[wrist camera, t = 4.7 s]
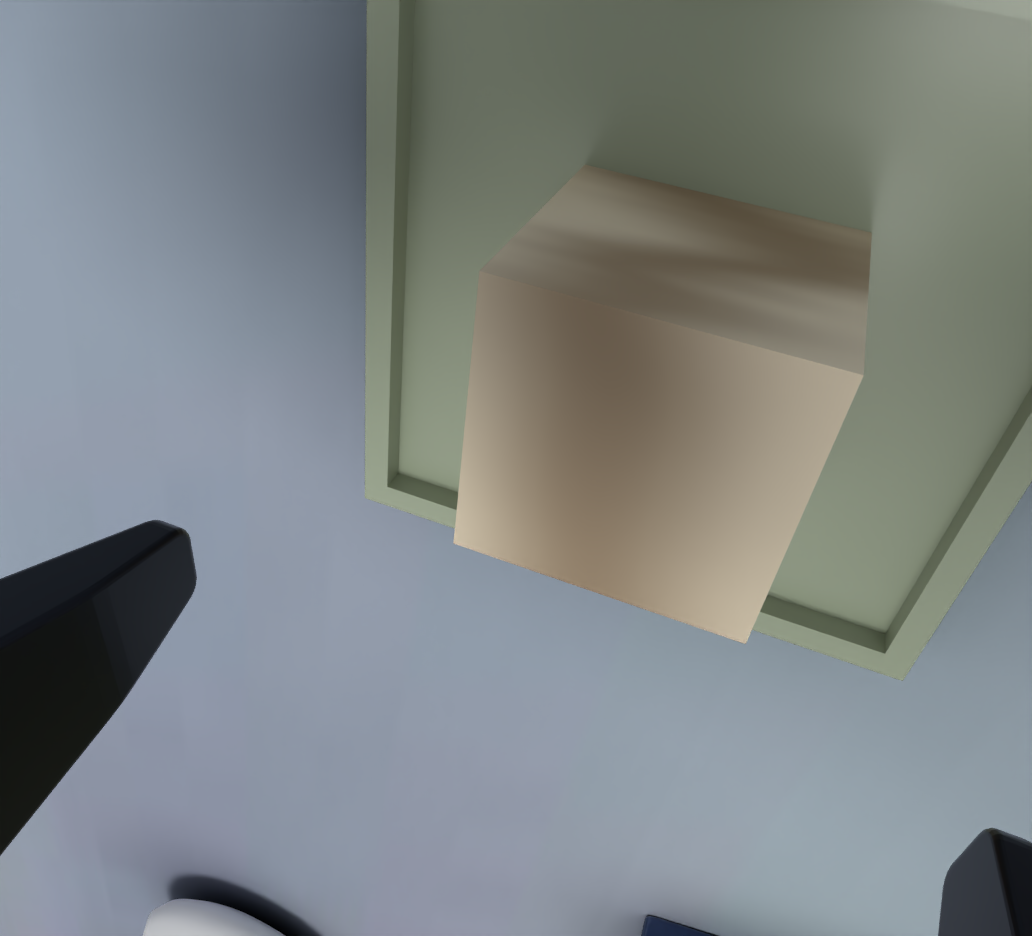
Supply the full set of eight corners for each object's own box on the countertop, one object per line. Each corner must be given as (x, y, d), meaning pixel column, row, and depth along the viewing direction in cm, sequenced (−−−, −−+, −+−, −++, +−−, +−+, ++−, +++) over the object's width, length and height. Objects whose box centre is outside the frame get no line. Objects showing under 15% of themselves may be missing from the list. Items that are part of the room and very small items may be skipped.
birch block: (872, 232, 14) (863, 375, 10) (778, 467, 17) (745, 644, 13) (584, 164, 15) (478, 271, 11) (546, 397, 18) (453, 543, 14)
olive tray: (1302, 4, 11) (1332, 15, 10) (902, 647, 19) (902, 680, 18) (396, -148, 14) (367, -148, 13) (383, 475, 22) (364, 497, 21)
